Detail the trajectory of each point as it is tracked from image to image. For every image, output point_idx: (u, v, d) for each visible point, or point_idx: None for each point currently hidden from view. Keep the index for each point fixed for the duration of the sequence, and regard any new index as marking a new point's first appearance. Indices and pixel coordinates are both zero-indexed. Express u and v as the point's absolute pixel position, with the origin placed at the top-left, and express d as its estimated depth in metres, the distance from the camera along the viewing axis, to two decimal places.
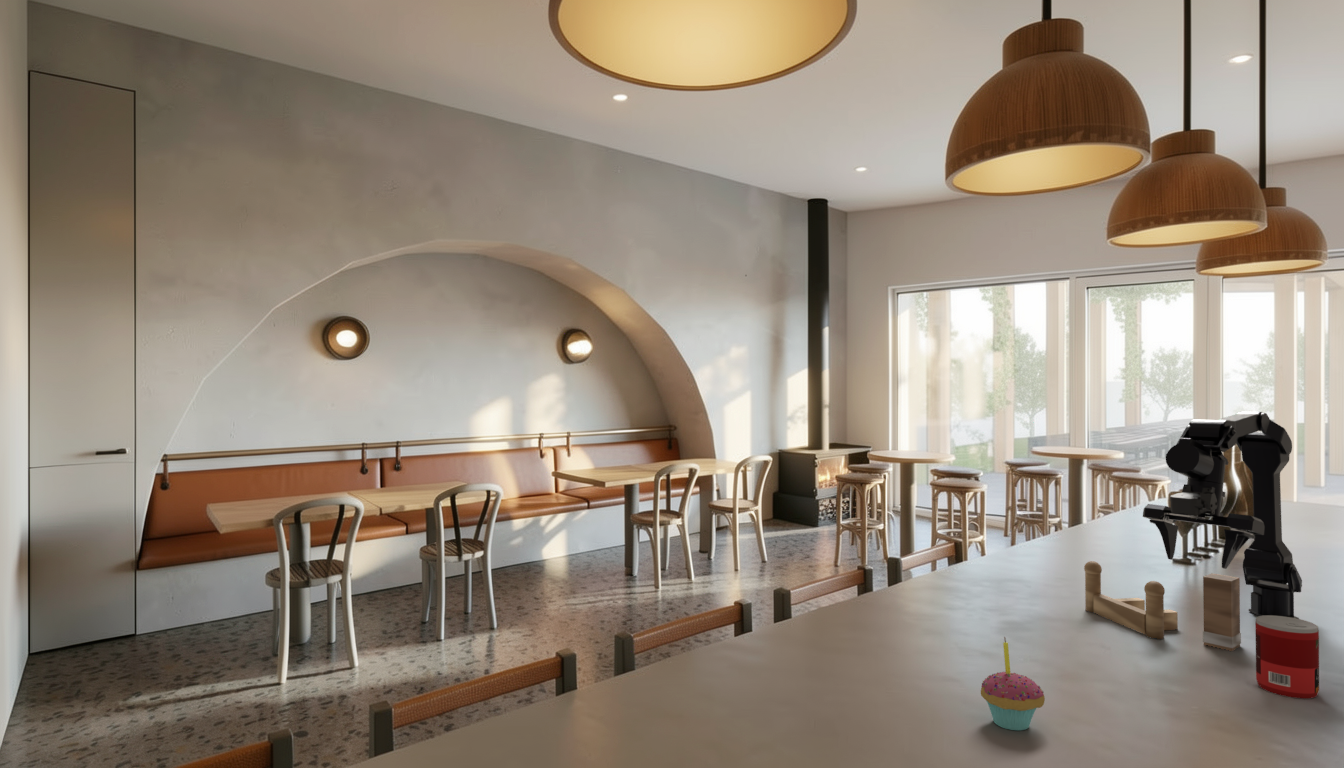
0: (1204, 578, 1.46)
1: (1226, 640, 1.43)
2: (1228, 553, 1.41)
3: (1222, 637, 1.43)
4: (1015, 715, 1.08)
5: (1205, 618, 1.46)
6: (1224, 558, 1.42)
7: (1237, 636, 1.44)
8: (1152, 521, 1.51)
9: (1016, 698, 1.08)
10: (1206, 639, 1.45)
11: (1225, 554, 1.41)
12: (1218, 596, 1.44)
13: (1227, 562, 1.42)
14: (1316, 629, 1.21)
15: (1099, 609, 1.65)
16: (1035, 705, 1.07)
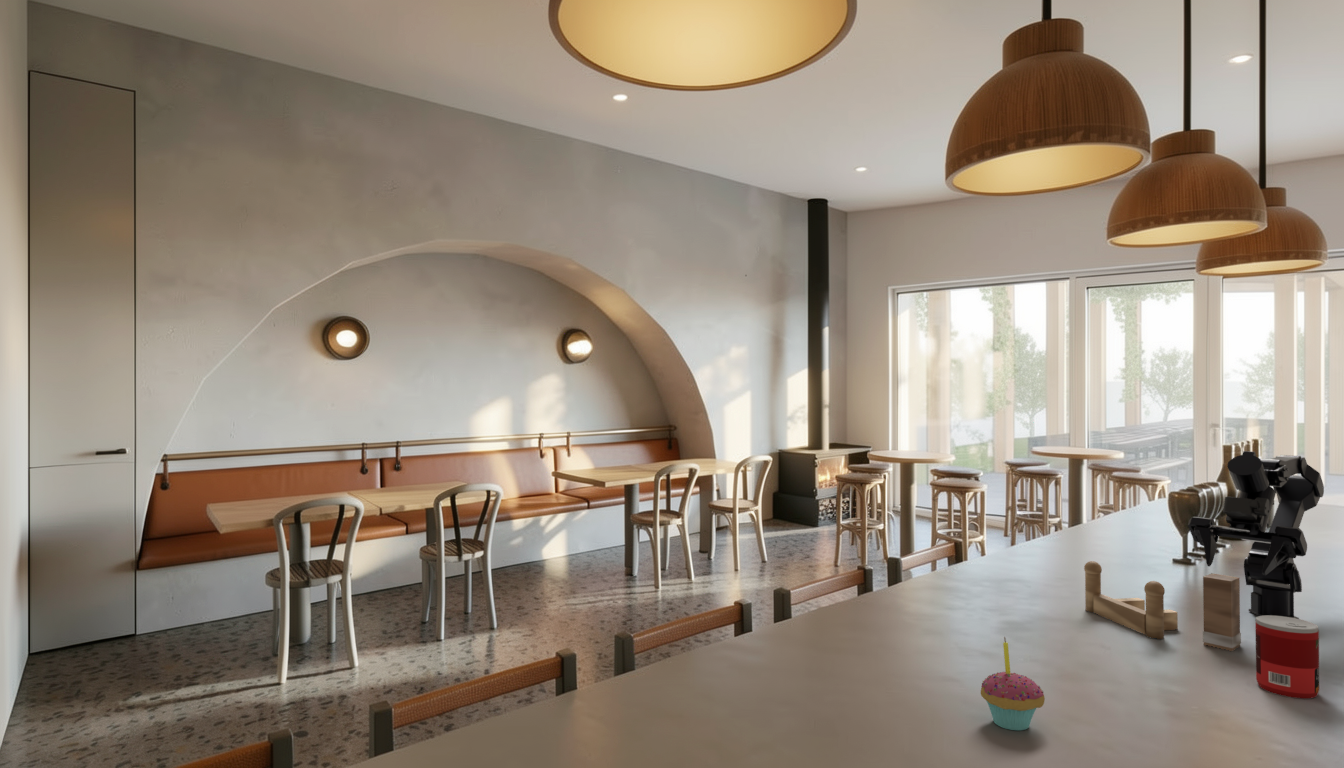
0: (1204, 578, 1.46)
1: (1226, 640, 1.43)
2: (1271, 559, 1.47)
3: (1222, 637, 1.43)
4: (1015, 715, 1.08)
5: (1205, 618, 1.46)
6: (1266, 563, 1.47)
7: (1237, 636, 1.44)
8: (1197, 528, 1.58)
9: (1016, 698, 1.08)
10: (1206, 639, 1.45)
11: (1268, 560, 1.47)
12: (1218, 596, 1.44)
13: (1268, 568, 1.47)
14: (1316, 629, 1.21)
15: (1099, 609, 1.65)
16: (1035, 705, 1.07)
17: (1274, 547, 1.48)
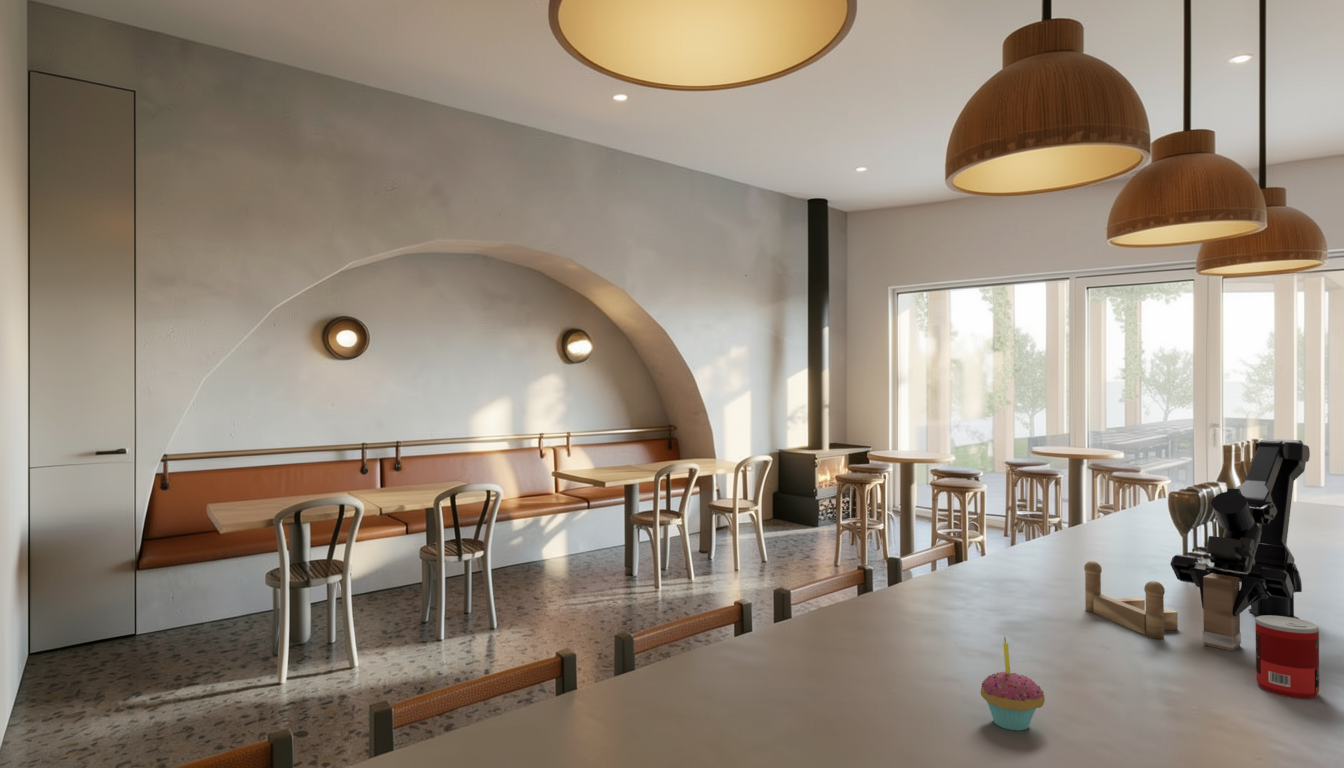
0: (1204, 578, 1.46)
1: (1226, 640, 1.43)
2: (1241, 599, 1.43)
3: (1222, 637, 1.43)
4: (1015, 715, 1.08)
5: (1205, 618, 1.46)
6: (1236, 604, 1.43)
7: (1237, 636, 1.44)
8: (1193, 569, 1.50)
9: (1016, 698, 1.08)
10: (1206, 639, 1.45)
11: (1238, 601, 1.43)
12: (1218, 596, 1.44)
13: (1238, 609, 1.43)
14: (1316, 629, 1.21)
15: (1099, 609, 1.65)
16: (1035, 705, 1.07)
17: (1245, 587, 1.44)
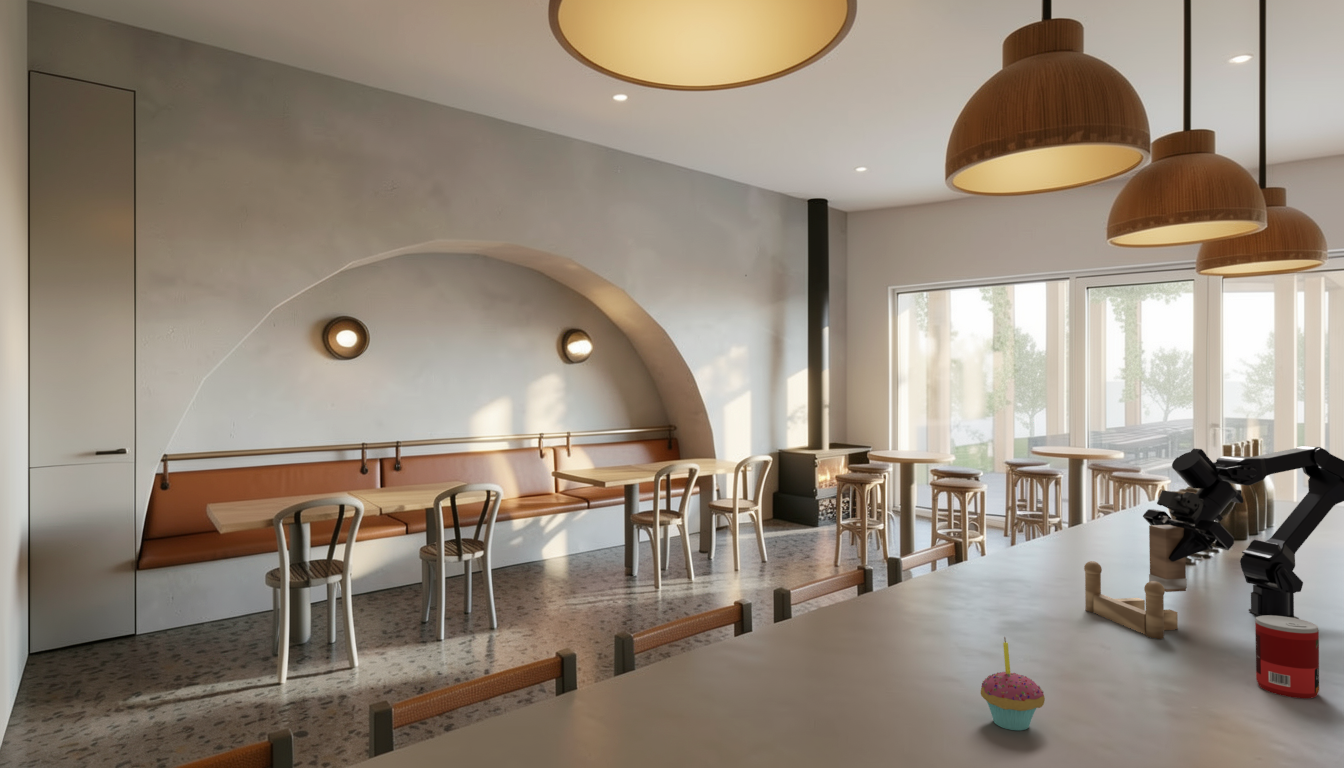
0: (1149, 527, 1.63)
1: (1163, 582, 1.59)
2: (1179, 547, 1.58)
3: (1160, 579, 1.60)
4: (1015, 715, 1.08)
5: (1150, 562, 1.63)
6: (1174, 551, 1.58)
7: (1178, 580, 1.59)
8: (1154, 521, 1.66)
9: (1016, 699, 1.08)
10: None
11: (1176, 548, 1.58)
12: (1158, 542, 1.60)
13: (1175, 555, 1.58)
14: (1316, 629, 1.21)
15: (1099, 609, 1.65)
16: (1035, 705, 1.07)
17: (1185, 537, 1.58)
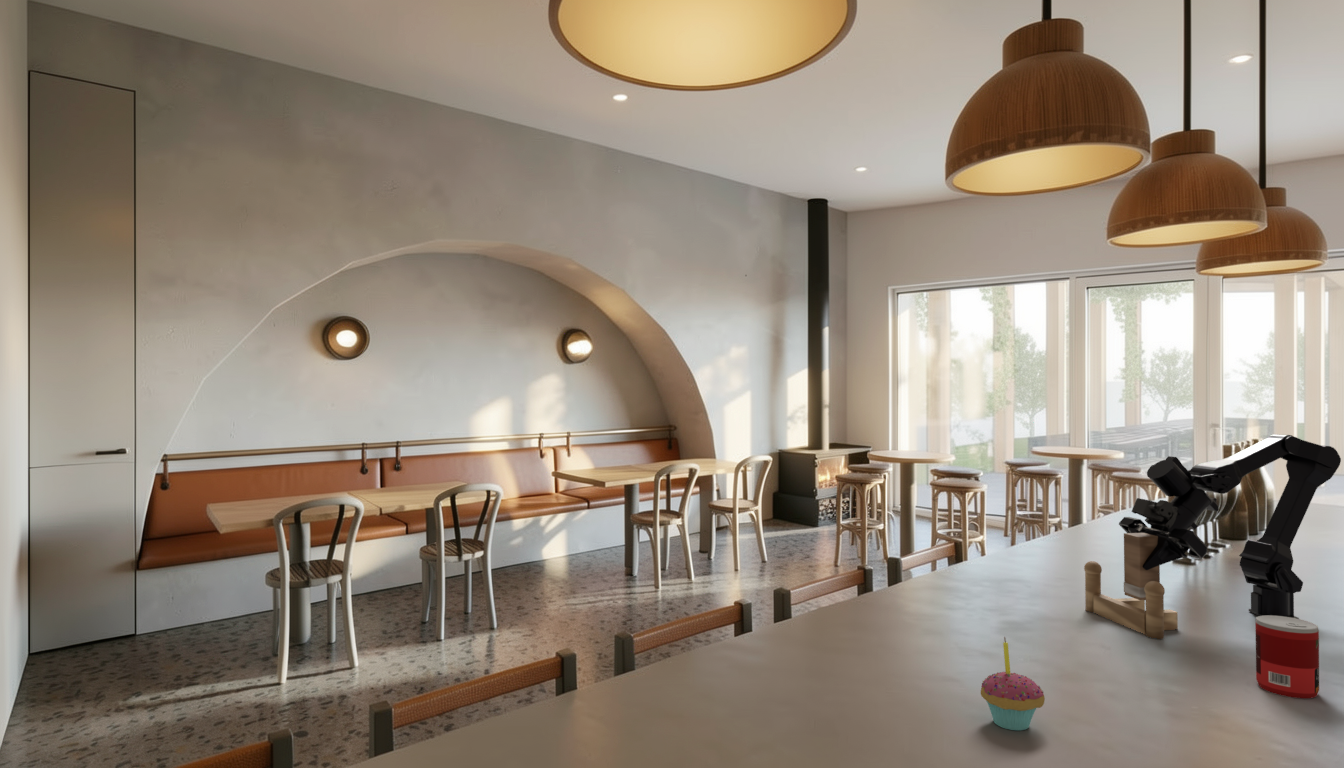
0: (1124, 534, 1.62)
1: (1136, 590, 1.59)
2: (1152, 555, 1.57)
3: (1134, 587, 1.59)
4: (1015, 715, 1.08)
5: (1125, 570, 1.62)
6: (1148, 559, 1.58)
7: None
8: (1129, 529, 1.66)
9: (1016, 699, 1.08)
10: (1125, 589, 1.62)
11: (1150, 556, 1.58)
12: (1132, 551, 1.60)
13: (1149, 564, 1.57)
14: (1316, 629, 1.21)
15: (1099, 609, 1.65)
16: (1035, 705, 1.07)
17: (1159, 545, 1.57)
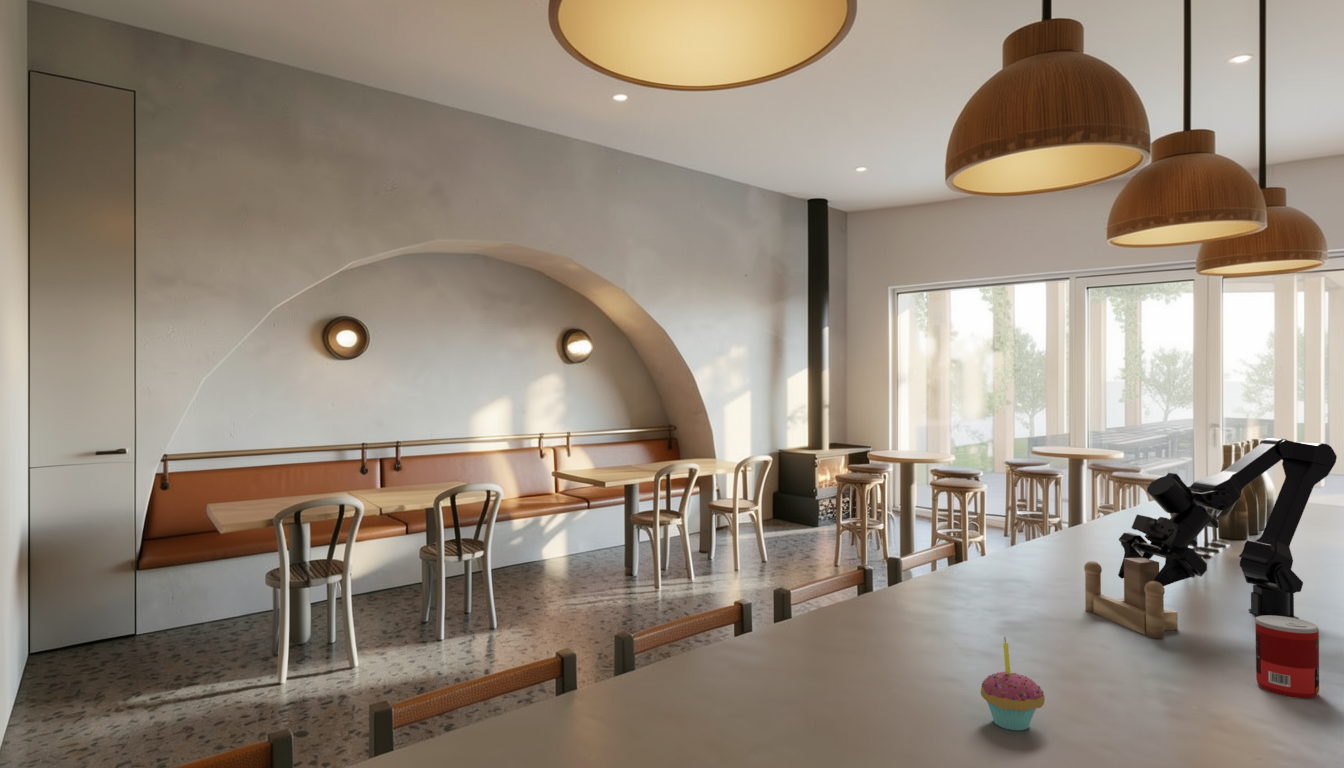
0: (1124, 559, 1.62)
1: None
2: (1160, 575, 1.55)
3: None
4: (1015, 715, 1.08)
5: (1125, 595, 1.62)
6: (1155, 578, 1.55)
7: None
8: (1122, 543, 1.68)
9: (1016, 699, 1.08)
10: None
11: (1158, 575, 1.55)
12: (1132, 576, 1.60)
13: None
14: (1316, 629, 1.21)
15: (1099, 609, 1.65)
16: (1035, 705, 1.07)
17: (1167, 564, 1.55)
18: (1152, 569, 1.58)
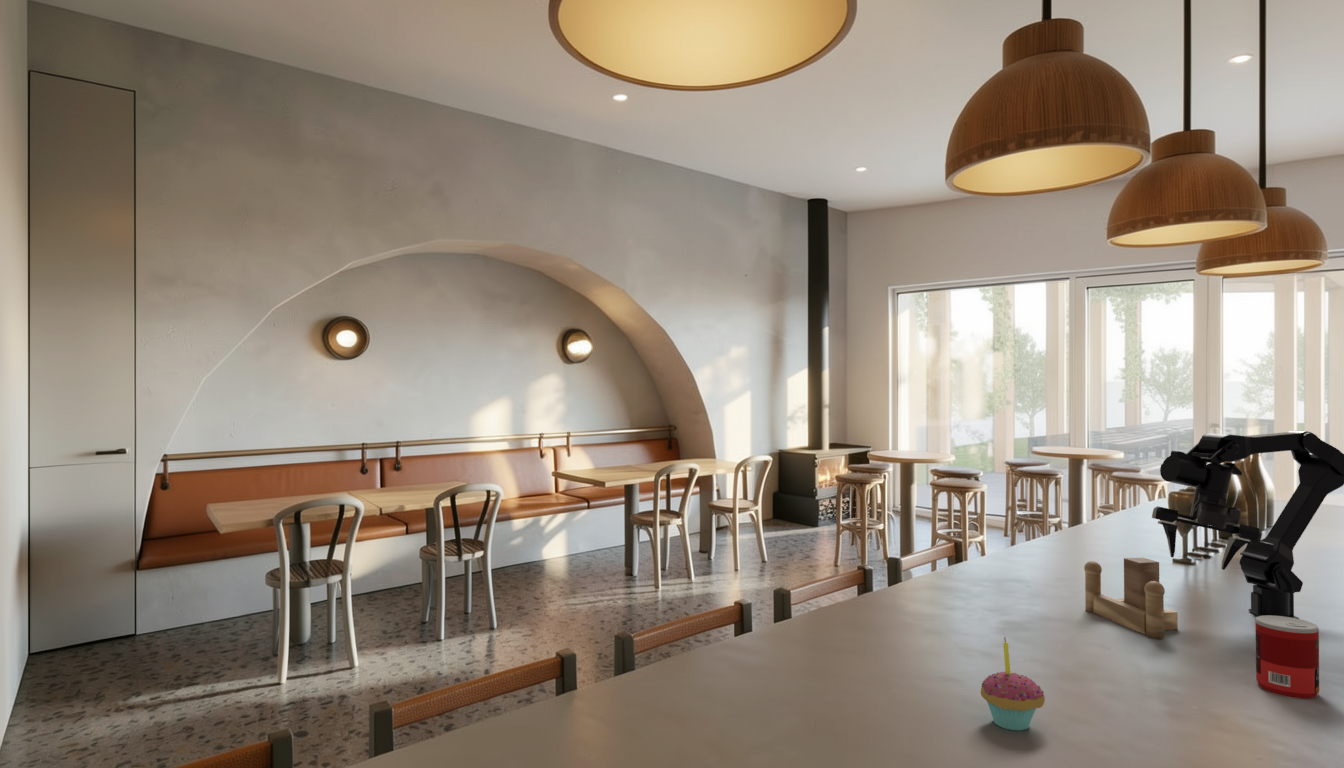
0: (1124, 559, 1.62)
1: None
2: (1231, 557, 1.60)
3: None
4: (1015, 715, 1.08)
5: (1125, 595, 1.62)
6: (1226, 561, 1.60)
7: None
8: (1165, 524, 1.64)
9: (1016, 699, 1.08)
10: None
11: (1228, 558, 1.60)
12: (1132, 576, 1.60)
13: (1227, 564, 1.61)
14: (1316, 629, 1.21)
15: (1099, 609, 1.65)
16: (1035, 705, 1.07)
17: (1235, 546, 1.59)
18: (1152, 569, 1.58)
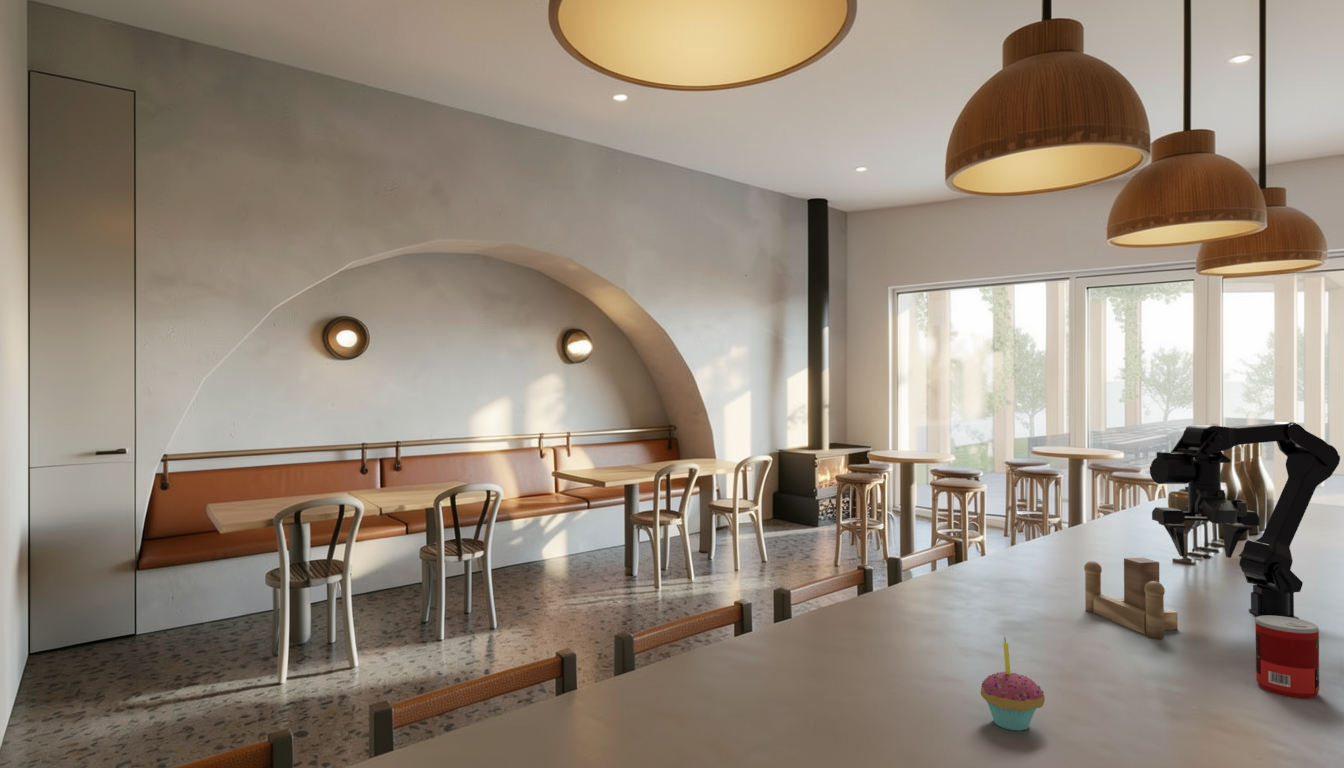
0: (1124, 559, 1.62)
1: None
2: (1235, 545, 1.62)
3: None
4: (1015, 715, 1.08)
5: (1125, 595, 1.62)
6: (1231, 549, 1.62)
7: None
8: (1174, 527, 1.62)
9: (1016, 699, 1.08)
10: None
11: (1233, 546, 1.62)
12: (1132, 576, 1.60)
13: None
14: (1316, 629, 1.21)
15: (1099, 609, 1.65)
16: (1035, 705, 1.07)
17: (1237, 534, 1.61)
18: (1152, 569, 1.58)
